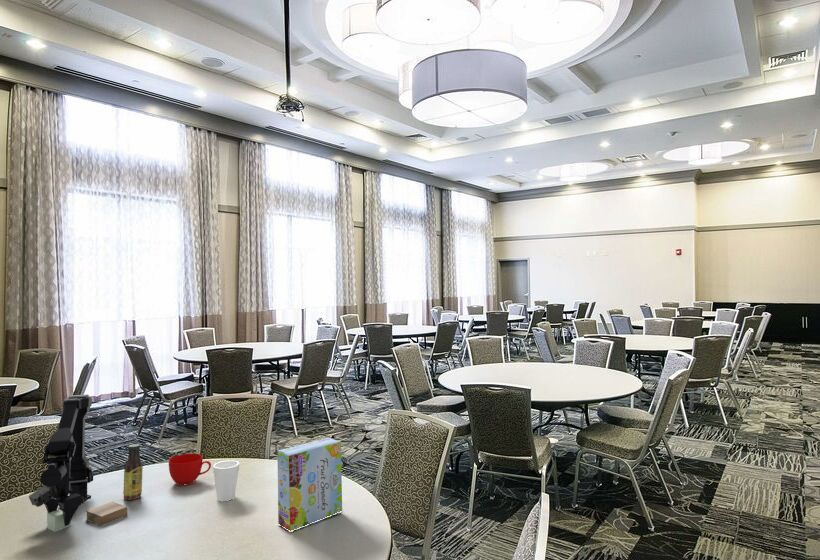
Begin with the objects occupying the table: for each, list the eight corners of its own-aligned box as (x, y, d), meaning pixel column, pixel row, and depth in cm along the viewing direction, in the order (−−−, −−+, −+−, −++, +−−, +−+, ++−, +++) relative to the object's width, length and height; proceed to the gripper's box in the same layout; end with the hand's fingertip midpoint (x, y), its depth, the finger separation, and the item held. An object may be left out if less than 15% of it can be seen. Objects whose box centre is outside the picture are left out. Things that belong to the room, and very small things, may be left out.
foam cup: (207, 501, 193) (207, 466, 194) (224, 492, 202) (225, 459, 202) (227, 505, 190) (227, 469, 190) (244, 495, 198) (244, 462, 199)
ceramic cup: (204, 488, 206) (204, 463, 206) (162, 488, 206) (162, 463, 206) (216, 477, 219) (216, 453, 219) (177, 476, 219) (177, 453, 219)
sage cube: (47, 528, 171) (47, 513, 172) (63, 522, 176) (63, 507, 176) (54, 531, 169) (55, 516, 169) (71, 525, 173) (71, 511, 173)
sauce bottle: (133, 501, 193) (134, 448, 193) (119, 500, 194) (119, 447, 195) (145, 494, 199) (146, 443, 200) (132, 493, 201) (132, 442, 201)
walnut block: (86, 521, 178) (86, 510, 178) (112, 511, 185) (112, 501, 186) (101, 526, 173) (101, 516, 173) (127, 516, 181) (127, 506, 181)
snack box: (328, 506, 189) (329, 436, 189) (343, 514, 182) (343, 441, 183) (276, 525, 173) (276, 449, 174) (289, 534, 167) (290, 454, 168)
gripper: (18, 478, 170) (17, 525, 170) (48, 489, 161) (47, 539, 161) (55, 468, 180) (54, 513, 180) (85, 477, 171) (84, 525, 171)
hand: (59, 522), depth 172 cm, fingers open, 9 cm apart
